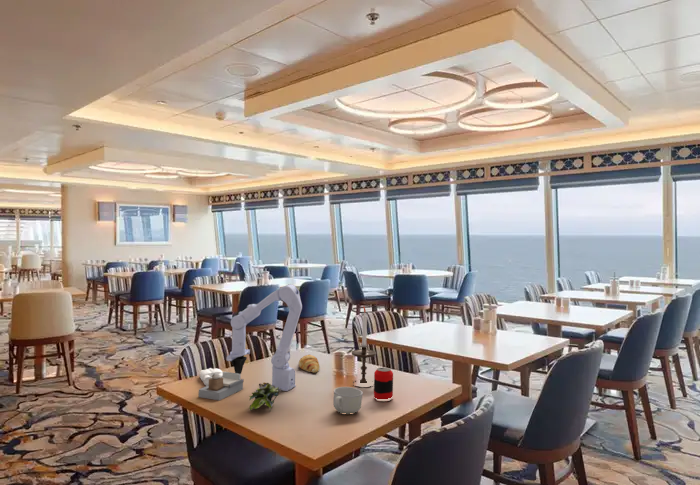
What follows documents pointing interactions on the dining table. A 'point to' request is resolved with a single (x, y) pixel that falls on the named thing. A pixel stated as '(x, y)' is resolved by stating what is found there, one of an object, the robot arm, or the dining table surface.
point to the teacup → (347, 399)
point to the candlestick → (364, 349)
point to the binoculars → (209, 374)
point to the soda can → (383, 383)
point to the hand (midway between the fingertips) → (238, 373)
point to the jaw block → (215, 383)
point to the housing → (221, 391)
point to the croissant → (309, 363)
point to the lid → (230, 378)
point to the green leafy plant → (264, 396)
